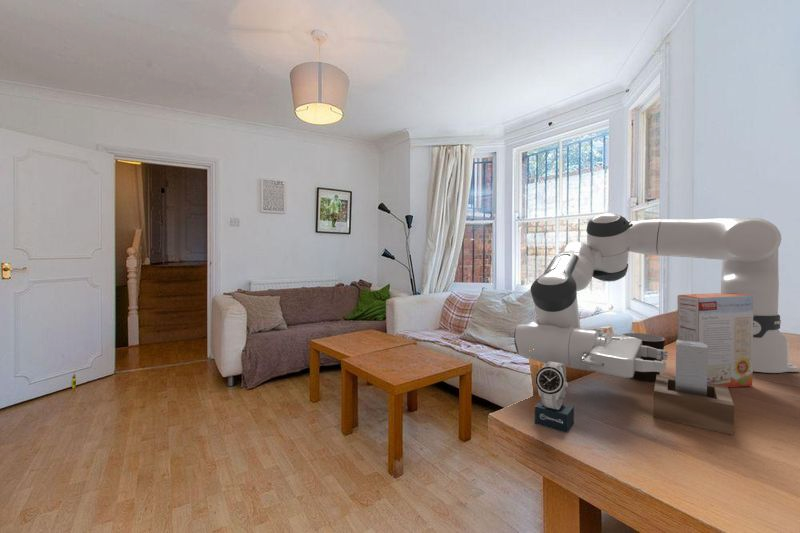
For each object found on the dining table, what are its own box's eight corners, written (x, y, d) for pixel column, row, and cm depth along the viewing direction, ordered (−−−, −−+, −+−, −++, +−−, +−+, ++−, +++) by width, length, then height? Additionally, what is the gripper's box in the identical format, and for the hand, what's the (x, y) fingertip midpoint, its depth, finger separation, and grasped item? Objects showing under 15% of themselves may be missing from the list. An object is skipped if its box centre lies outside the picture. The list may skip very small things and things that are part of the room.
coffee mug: (671, 384, 83) (672, 341, 82) (630, 382, 85) (631, 340, 84) (647, 368, 94) (648, 331, 94) (611, 367, 96) (612, 330, 96)
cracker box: (726, 377, 87) (728, 292, 86) (753, 387, 81) (756, 294, 80) (674, 380, 85) (676, 293, 84) (698, 390, 79) (700, 296, 78)
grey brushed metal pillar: (675, 404, 71) (676, 339, 70) (705, 410, 68) (706, 343, 68) (674, 412, 67) (676, 344, 67) (706, 419, 65) (707, 348, 64)
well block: (656, 397, 75) (656, 374, 75) (726, 411, 69) (727, 386, 68) (653, 417, 67) (653, 390, 67) (733, 435, 60) (734, 405, 60)
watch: (530, 427, 64) (531, 366, 63) (545, 411, 70) (545, 355, 69) (564, 437, 60) (564, 372, 60) (576, 419, 66) (577, 361, 66)
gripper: (577, 345, 70) (665, 357, 61) (596, 327, 86) (668, 335, 77) (576, 377, 70) (664, 394, 62) (596, 353, 86) (667, 364, 78)
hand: (666, 361), depth 70 cm, fingers open, 8 cm apart
